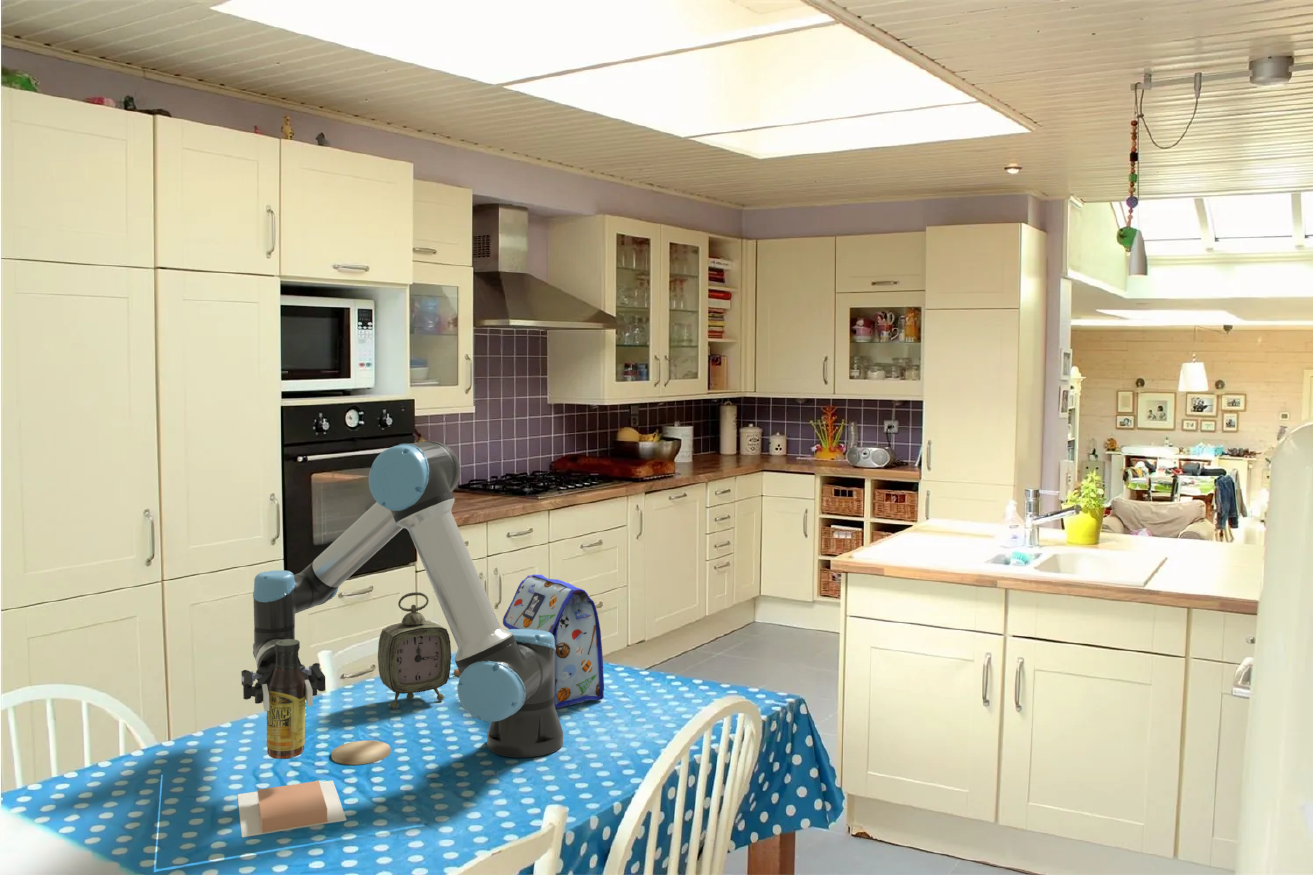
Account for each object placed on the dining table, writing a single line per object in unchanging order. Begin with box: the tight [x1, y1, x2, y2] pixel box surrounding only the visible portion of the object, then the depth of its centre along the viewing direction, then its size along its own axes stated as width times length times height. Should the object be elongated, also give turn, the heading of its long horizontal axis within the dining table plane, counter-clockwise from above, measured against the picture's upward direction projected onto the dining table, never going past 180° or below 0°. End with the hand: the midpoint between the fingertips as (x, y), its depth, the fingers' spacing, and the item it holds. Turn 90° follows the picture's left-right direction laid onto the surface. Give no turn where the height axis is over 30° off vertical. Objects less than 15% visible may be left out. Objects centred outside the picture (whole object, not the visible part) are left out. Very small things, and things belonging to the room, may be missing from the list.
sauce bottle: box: [266, 638, 306, 760], centre depth 177 cm, size 6×6×20 cm
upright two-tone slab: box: [256, 780, 327, 833], centre depth 171 cm, size 2×10×12 cm
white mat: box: [237, 780, 347, 838], centre depth 174 cm, size 18×16×1 cm
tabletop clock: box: [377, 591, 452, 710], centre depth 230 cm, size 14×9×25 cm, turn 123°
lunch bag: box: [502, 574, 605, 709], centre depth 237 cm, size 23×17×27 cm
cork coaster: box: [331, 740, 392, 766], centre depth 198 cm, size 11×11×1 cm
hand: (288, 700), depth 172 cm, fingers closed on sauce bottle, 6 cm apart
